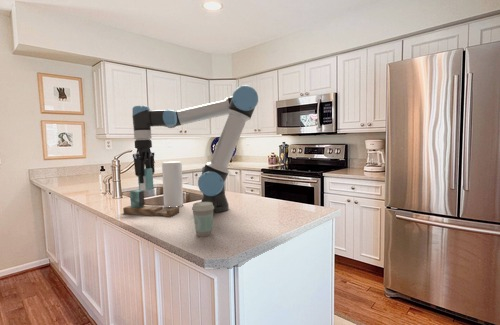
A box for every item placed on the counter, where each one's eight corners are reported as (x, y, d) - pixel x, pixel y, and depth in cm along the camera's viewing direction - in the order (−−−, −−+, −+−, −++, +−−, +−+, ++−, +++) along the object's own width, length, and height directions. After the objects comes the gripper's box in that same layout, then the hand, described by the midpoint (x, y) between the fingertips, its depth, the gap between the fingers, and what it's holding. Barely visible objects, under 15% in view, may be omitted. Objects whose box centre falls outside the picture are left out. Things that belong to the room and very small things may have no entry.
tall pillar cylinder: (186, 203, 163) (184, 161, 161) (178, 207, 152) (176, 162, 150) (169, 203, 165) (167, 161, 163) (160, 207, 154) (158, 162, 152)
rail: (179, 212, 141) (178, 190, 140) (171, 216, 134) (170, 193, 134) (132, 210, 149) (131, 189, 148) (123, 213, 142) (122, 191, 141)
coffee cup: (194, 231, 111) (192, 201, 110) (215, 230, 112) (214, 200, 111) (191, 238, 103) (190, 206, 102) (214, 237, 103) (213, 205, 102)
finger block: (153, 189, 132) (152, 168, 131) (148, 190, 128) (147, 169, 128) (143, 189, 134) (142, 168, 133) (138, 190, 130) (136, 169, 129)
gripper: (147, 139, 138) (150, 186, 140) (123, 140, 122) (127, 192, 124) (160, 139, 136) (163, 186, 138) (138, 139, 120) (141, 192, 122)
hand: (146, 189), depth 131 cm, fingers closed on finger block, 4 cm apart
